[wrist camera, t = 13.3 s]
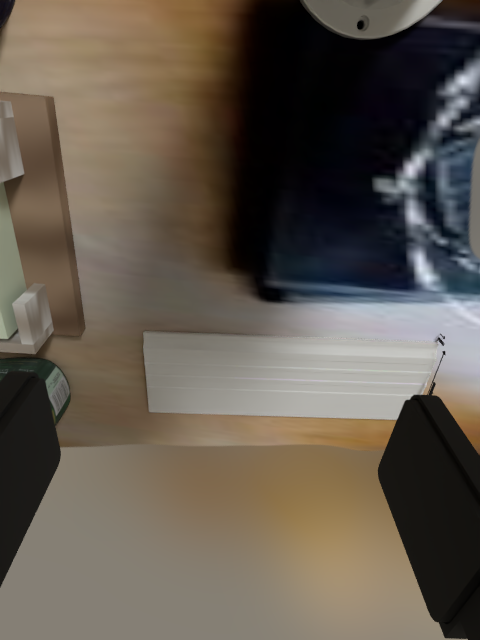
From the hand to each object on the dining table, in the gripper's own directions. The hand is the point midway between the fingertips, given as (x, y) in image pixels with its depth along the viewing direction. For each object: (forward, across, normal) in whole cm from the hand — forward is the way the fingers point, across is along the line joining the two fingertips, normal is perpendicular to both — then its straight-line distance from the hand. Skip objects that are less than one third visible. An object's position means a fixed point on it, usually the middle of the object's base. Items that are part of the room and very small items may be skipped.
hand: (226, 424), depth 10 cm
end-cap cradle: (+26, +20, +4) cm, 33 cm away
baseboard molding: (+27, -8, +18) cm, 34 cm away
